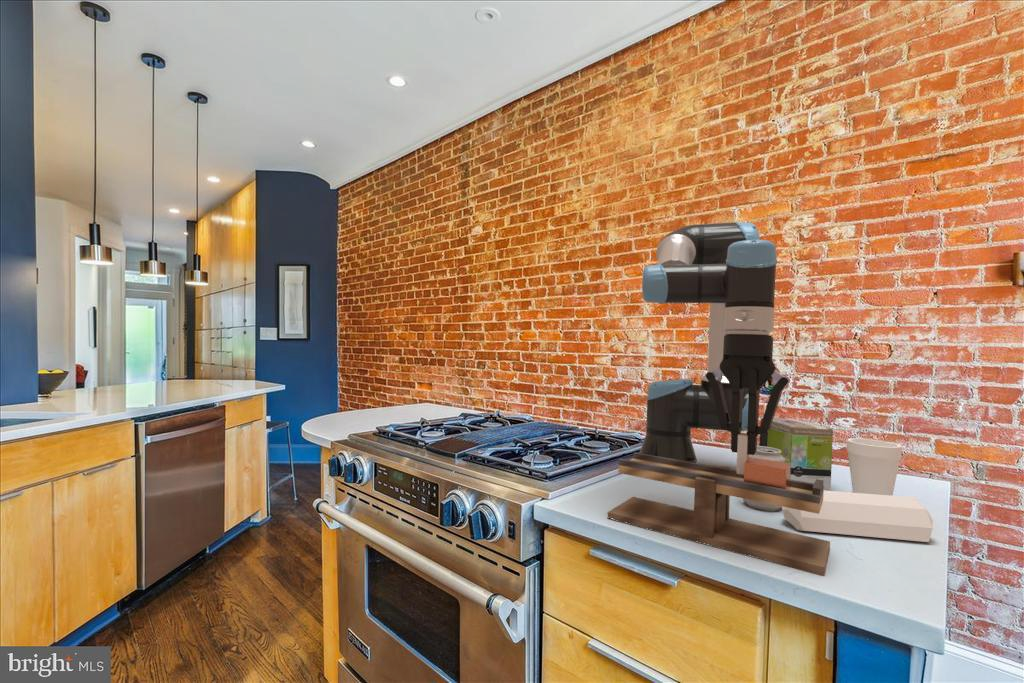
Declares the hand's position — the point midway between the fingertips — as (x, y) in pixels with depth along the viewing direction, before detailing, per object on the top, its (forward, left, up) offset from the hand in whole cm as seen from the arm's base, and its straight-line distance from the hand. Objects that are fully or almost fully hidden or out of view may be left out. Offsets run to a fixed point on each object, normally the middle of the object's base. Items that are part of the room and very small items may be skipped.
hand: (742, 472), depth 82 cm
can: (-19, +11, -12) cm, 25 cm away
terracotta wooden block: (+2, +3, -2) cm, 4 cm away
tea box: (-40, +26, -12) cm, 50 cm away
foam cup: (-26, +36, -12) cm, 46 cm away
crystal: (-8, +22, -12) cm, 27 cm away
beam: (-2, -4, -2) cm, 5 cm away
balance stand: (-2, -4, -12) cm, 12 cm away
